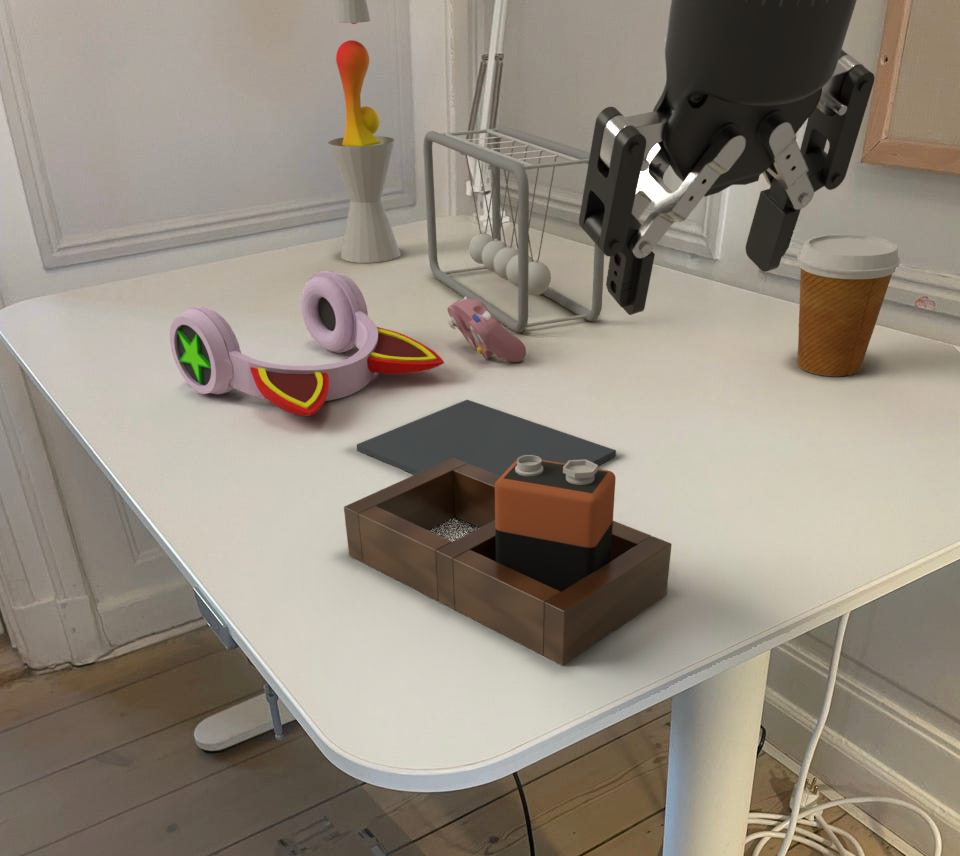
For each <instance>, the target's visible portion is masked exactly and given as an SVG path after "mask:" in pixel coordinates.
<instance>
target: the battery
mask: <svg viewBox="0 0 960 856" xmlns="http://www.w3.org/2000/svg"><path fill="white" fill-rule="evenodd" d="M615 494H616V475H615V473H614V472H613V471H612V470H607V469H600V468H599V465H597V464H595V463H592V462H590V461H588V460H586V459H585V460H569V461H568V462H567V463H566V464H565V463H558V462H552V461H546V460H541V458H540V457H538V456H534V455H524V456H521V457H519V458H518V459H517V460H516V461H515V462H514V463H513V464H512V465H511V466H510V467H509V468H508V470H507V471H506V472H505V473H504V474H503V475H502V476H501V477H500V478H499V479H498V480H497V481H496V483H495V536H496V562H497V563H500V564H502V565H504V566H506V567H508V568H510V569H513V570H515V571H517V572H519V573H521V574H523V575H526V576H528V577H530V578H532V579H534V580H536V581H539V582H541V583H543V584H545V585H547V586H549V587H552V588H554V589H556V590H558V591H560V592H562V591H564V590H565V589H567V588H569V587H570V586H572V585H573V584H575V583H577V582H578V581H580V580H582V579H583V578H585V577H586V576H588V575H590V574H591V573H593V572H595V571H596V570H598V569H599V568H601V567H603V566H604V565H606V564H608V563H609V562H610V561H611V544H612V528H613V521H614V511H615Z"/></svg>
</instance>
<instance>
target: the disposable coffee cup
mask: <svg viewBox="0 0 960 856" xmlns="http://www.w3.org/2000/svg"><path fill="white" fill-rule="evenodd" d="M796 258H797V261H798V267H799V268H800V277H799V278H800V279H799V282H800V283H799V307H798V308H799V309H798V310H799V311H798V336H797V337H798V340H797V343H798V344H797V364H796V365H797V366H798V367H799V368H800V369H801V370H803V371H805V372H808V373H811V374H815V375H818V376H825V377H843V376H850V375H855V374H857V373H859V372H860V371H861V369H862V366H863V363H864V360H865V357H866V354H867V351H868V348H869V345H870V342H871V339H872V336H873V333H874V330H875V327H876V325H877V321H878V318H879V314H880V312H881V309H882V306H883V304H884V300H885V298H886V295H887V291H888V288H889V284H890V282H891V279H892V277H893V274H894V273H895V272H896V269H897V268H898V267H899V265H900V264H901V259H900V258H899V247H898V244H897V243H895V242H893V241H891V240H889V239H885V238H882V237H878V236H873V235H872V236H871V235H864V234H850V233H849V234H848V233H834V234H833V233H831V234H822V235H817V236H813V237H810V238H808V239H806V240H805V241H804V243H803V246H802V249H801V251H800V252H798V254H797V257H796Z"/></svg>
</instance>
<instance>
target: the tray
mask: <svg viewBox="0 0 960 856" xmlns="http://www.w3.org/2000/svg"><path fill="white" fill-rule="evenodd" d="M500 477H501V476H498V475H496V474H493V473H491V472H488V471H486V470H483V469H481V468H478V467H475V466H473V465H470V464H467V463H465V462H463V461H460V460H458V459H455V458H451V459H449V460H447V461H444V462H442V463H440V464H438V465H436V466H433V467H431V468H429V469H427V470H424V471H422V472H420V473H418V474H412V475H411V476H409V477H406V478H404V479H402V480H400V481H398V482H396V483H393V484H391V485H389V486H387V487H385V488H382V489H379V490H377V491H375V492H373V493H371V494H369V495H366V496H365V497H362V498H360V499H358V500H356V501H353V502H351V503H349V504H346V505H345V506H343V512H344V521H345V522H344V523H345V531H346V539H347V549H348V555H349V556H350V557H351V558H354V559H355V560H357V561H359V562H362V563H363V564H366V565H367V566H369V567H371V568H373V569H375V570H377V571H379V572H381V573H383V574H384V575H387V576H388V577H391V578H392V579H394V580H396V581H398V582H399V583H400V582H401V583H402V584H404V585H405V586H408V587H409V588H411V589H413V590H415V591H417V592H419V593H422V594H423V595H425V596H427V597H428V598H431V599H433V600H435V601H437V602H439V603H440V604H443V605H445V606H446V607H449V608H450V609H452V610H455V611H456V612H458V613H460V614H462V615H464V616H466V617H468V618H470V619H471V620H474V621H475V622H477V623H478V624H479V623H480V624H481V625H483V626H485V627H487V628H490V629H491V630H493V631H495V632H497V633H499V634H501V635H503V636H504V637H507V638H509V639H510V640H513V641H514V642H517V643H518V644H520V645H522V646H524V647H526V648H528V649H530V650H531V651H534V652H536V653H537V654H539V655H541V656H544V657H546V658H547V659H549V660H551V661H553V662H555V663H557V664H559V665H560V666H564V665H566V664H567V663H569V662H570V661H572V660H573V659H575V658H576V657H577V656H579V655H581V654H582V653H583V652H585V651H587V650H588V649H589V648H591V647H592V646H594V645H596V644H597V643H598V642H599V641H601V640H602V639H604V638H605V637H607V636H608V635H610V634H611V633H612V632H615V630H617V629H618V628H620V627H621V626H623V625H624V624H626V623H627V622H629V621H630V620H631V619H633V618H634V617H636V616H637V615H639V614H640V613H642V612H643V611H645V610H646V609H648V608H649V607H651V606H652V605H654V604H655V603H656V602H658V601H660V600H661V599H662V598H664V597H665V596H667V593H668V585H669V575H670V564H671V554H672V546H673V545H672V543H671V542H668V541H666V540H664V539H661V538H658V537H656V536H653V535H651V534H649V533H646V532H644V531H641V530H638V529H636V528H633V527H631V526H628V525H625V524H623V523H620V522H618V521H616V520H613V528H612V544H611V561H610V562H609V563H608V564H606V565H604V566H603V567H601V568H599V569H598V570H596V571H595V572H593V573H591V574H590V575H588V576H586V577H585V578H583V579H582V580H580V581H578V582H577V583H575V584H573V585H572V586H570V587H569V588H567V589H565V590H564V591H562V592H560V591H558V590H556V589H554V588H552V587H549V586H547V585H545V584H543V583H541V582H539V581H536V580H534V579H532V578H530V577H528V576H526V575H523V574H521V573H519V572H517V571H515V570H513V569H510V568H508V567H506V566H504V565H502V564H500V563H497V562H496V536H495V483H496V481H497V480H498V479H499V478H500ZM453 518H456V519H459V520H461V521H464V522H465V523H468V524H471V525H472V526H474V527H477V528H476V529H474V530H473V531H471V532H469V533H467V534H465V535H462V536H461V537H459V538H457V539H454V540H453V541H452V540H450V539H448V538H445V537H443V536H441V535H439V534H437V533H435V532H432V531H431V529H433V528H435V527H437V526H439V525H441V524H443V523H445V522H447V521H449V520H451V519H453Z"/></svg>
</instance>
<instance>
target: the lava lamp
mask: <svg viewBox="0 0 960 856" xmlns="http://www.w3.org/2000/svg"><path fill="white" fill-rule="evenodd" d="M368 22H371V18H370V13H369V8H368V3H367V0H332V15H331V23H333V24H352V25H356V24H359V23H368ZM335 61H336V66H337V69H338V70H337V71H338V73H339V77H340V81H341V85H342V90H343V93H344V94H343V95H344V103H345V104H344V105H345V115H346V116H345V130H344V136H343V137H339V138H335V139H330V140H329V141H327V142H328V143H327V145H328V147H329V150H330V152H331V155H332V158H333V160H334V163H335V165H336V167H337V169H338V172H339V174H340V177H341V179H342V182H343V184H344V186H345V189H346V191H347V195H348V197H349V199H350V202H349V209H348V214H347V219H346V225H345V230H344V236H343V241H342V245H341V252H340V258H341V260H343V261H346V262H350V263H357V264H373V263H383V262H387V261H392V260H394V259H397V258H399V257H400V256H401V252H400V249H399V246H398V242H397V240H396V237H395V235H394V231H393V228H392V226H391V224H390V220H389V218H388V215H387V212H386V209H385V206H384V203H383V200H382V197H383V192H384V188H385V184H386V181H387V175H388V171H389V167H390V163H391V158H392V154H393V149H394V146H395V139H394V138H393V137H389V136H382V135H374V134H376V132H377V131H378V130H379V127H380V117H379V114H378V113H377V111H376V110H375V109H374V108H372V107H370V106H362V105H361V104H362V103H361V102H362V101H361V94H362V90H363V89H362V88H363V85H364V80H365V78H366V75H367V72H368V69H369V66H370V55H369V52H368V49H367V48H366V47H365V45H363V43H361V42H359V41H357V40H354V39H353V40H352V39H350V40H346V41H344V42H343V43H341V44H340V46H339V47H338V48H337V51H336V55H335Z"/></svg>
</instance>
